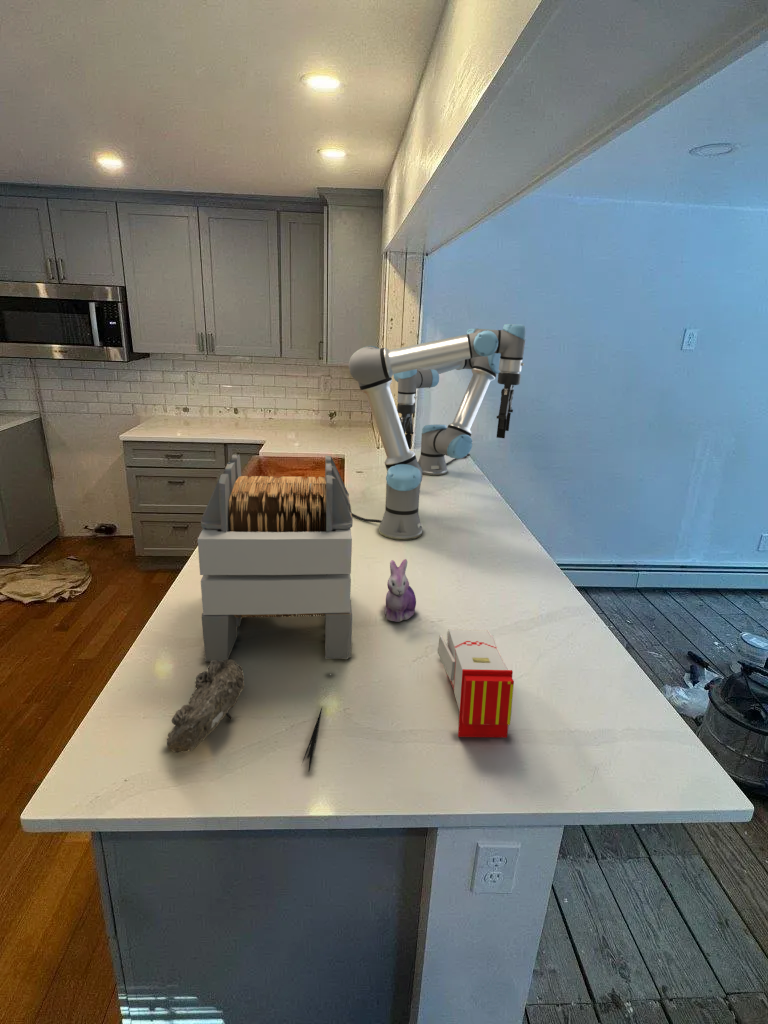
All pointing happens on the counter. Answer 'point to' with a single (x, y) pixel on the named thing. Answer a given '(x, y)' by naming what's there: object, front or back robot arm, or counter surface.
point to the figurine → (399, 594)
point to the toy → (478, 682)
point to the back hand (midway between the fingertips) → (404, 452)
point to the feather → (313, 740)
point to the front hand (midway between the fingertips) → (502, 434)
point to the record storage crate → (276, 555)
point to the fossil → (206, 705)
